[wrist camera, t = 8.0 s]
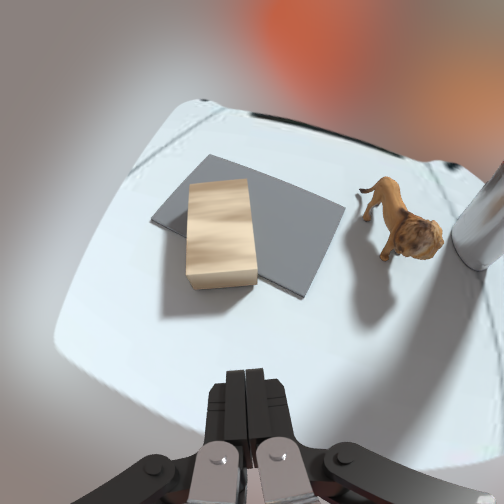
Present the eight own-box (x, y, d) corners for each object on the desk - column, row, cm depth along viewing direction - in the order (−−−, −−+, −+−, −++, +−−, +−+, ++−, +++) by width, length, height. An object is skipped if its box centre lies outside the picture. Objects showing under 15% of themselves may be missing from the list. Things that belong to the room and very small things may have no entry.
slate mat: (209, 155, 41) (209, 154, 40) (344, 209, 35) (345, 207, 35) (151, 219, 35) (151, 218, 35) (304, 297, 29) (304, 296, 29)
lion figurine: (421, 273, 30) (459, 237, 23) (392, 286, 30) (430, 250, 22) (371, 188, 37) (391, 143, 29) (342, 195, 37) (359, 147, 29)
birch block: (194, 289, 30) (195, 204, 35) (257, 284, 30) (247, 199, 36) (185, 275, 26) (189, 184, 32) (257, 268, 26) (247, 178, 32)
